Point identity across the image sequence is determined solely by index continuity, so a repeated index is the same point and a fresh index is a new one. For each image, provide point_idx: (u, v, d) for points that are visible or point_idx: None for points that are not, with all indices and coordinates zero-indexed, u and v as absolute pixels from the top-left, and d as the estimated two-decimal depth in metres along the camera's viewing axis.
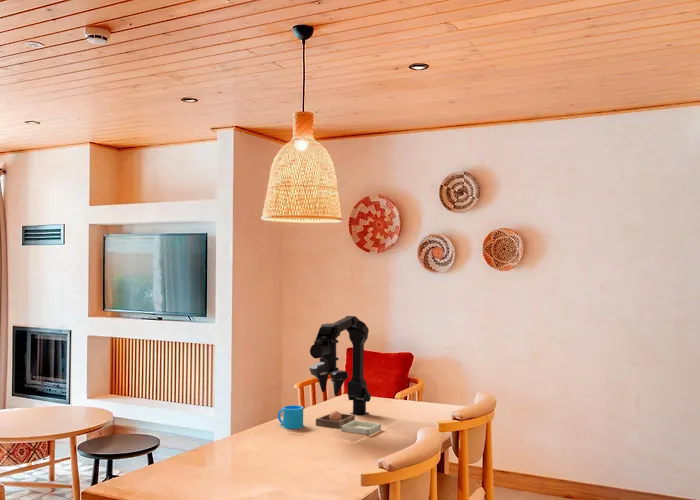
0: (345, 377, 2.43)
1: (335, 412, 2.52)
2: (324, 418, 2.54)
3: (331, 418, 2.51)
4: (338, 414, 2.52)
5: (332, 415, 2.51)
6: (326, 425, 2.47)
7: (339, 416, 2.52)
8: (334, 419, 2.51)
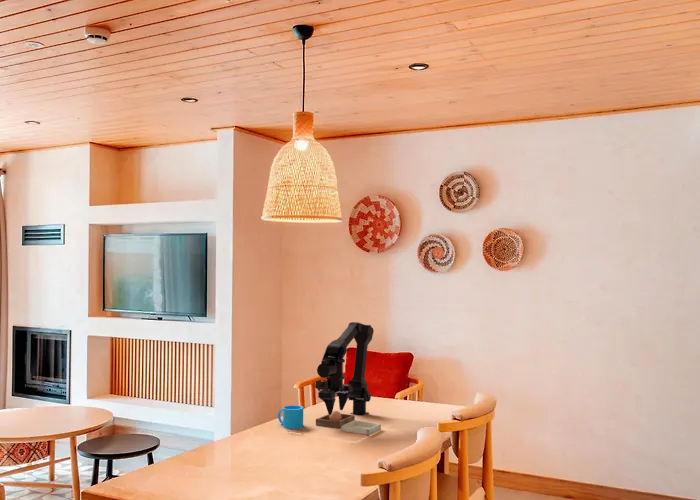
0: (327, 397, 2.45)
1: (335, 412, 2.52)
2: (324, 418, 2.54)
3: (331, 418, 2.51)
4: (338, 414, 2.52)
5: (332, 415, 2.51)
6: (326, 425, 2.47)
7: (339, 416, 2.52)
8: (334, 419, 2.51)
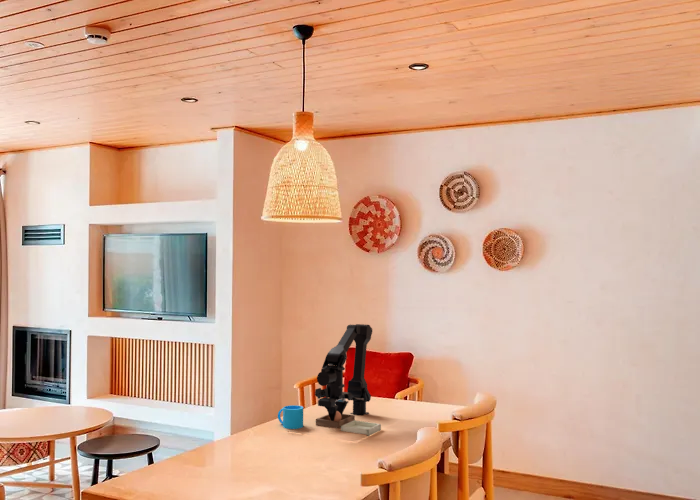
0: (326, 405, 2.45)
1: None
2: (324, 418, 2.54)
3: None
4: (338, 414, 2.52)
5: None
6: (326, 425, 2.47)
7: (339, 416, 2.52)
8: (334, 419, 2.51)
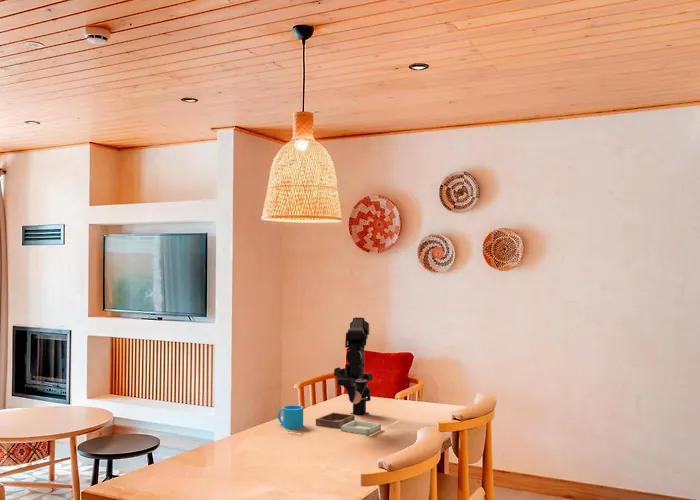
0: (346, 384, 2.37)
1: None
2: (324, 418, 2.54)
3: None
4: (357, 394, 2.43)
5: None
6: (326, 425, 2.47)
7: (359, 396, 2.43)
8: None
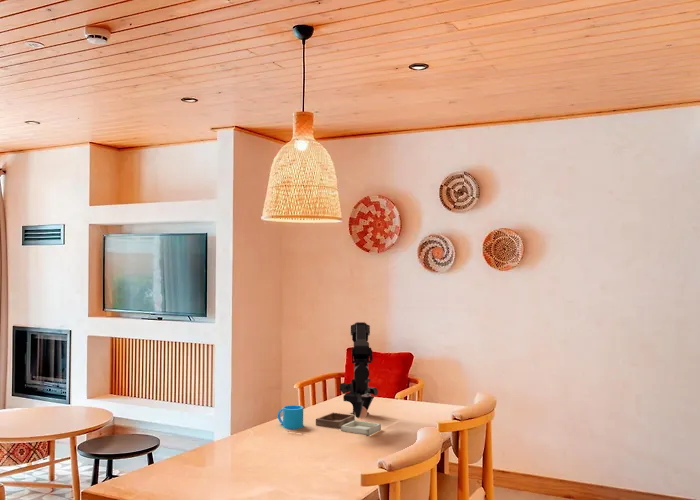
0: (352, 400, 2.35)
1: None
2: (324, 418, 2.54)
3: None
4: (363, 409, 2.42)
5: None
6: (326, 425, 2.47)
7: (365, 412, 2.42)
8: (360, 415, 2.41)
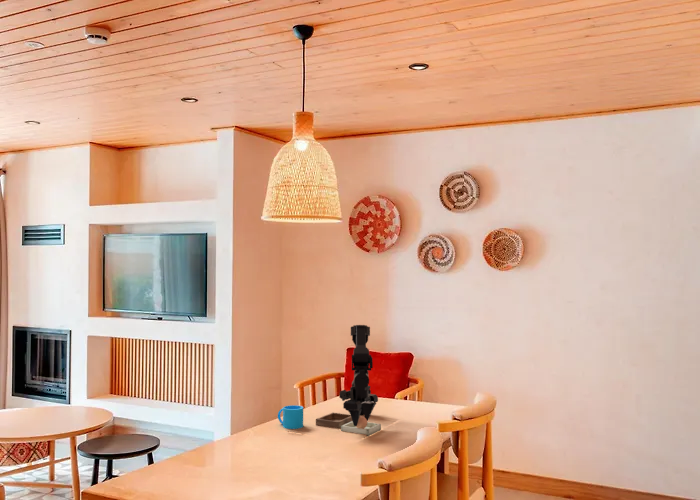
0: (352, 408, 2.34)
1: (361, 418, 2.42)
2: (324, 418, 2.54)
3: None
4: (363, 420, 2.41)
5: None
6: (326, 425, 2.47)
7: (365, 422, 2.41)
8: (360, 425, 2.41)
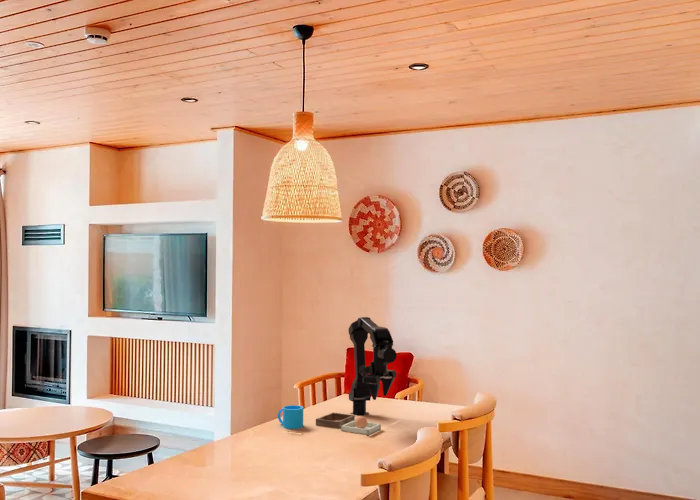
0: (372, 382, 2.42)
1: (361, 417, 2.42)
2: (324, 418, 2.54)
3: (356, 424, 2.41)
4: (363, 419, 2.41)
5: (358, 420, 2.41)
6: (326, 425, 2.47)
7: (365, 422, 2.41)
8: (360, 425, 2.41)
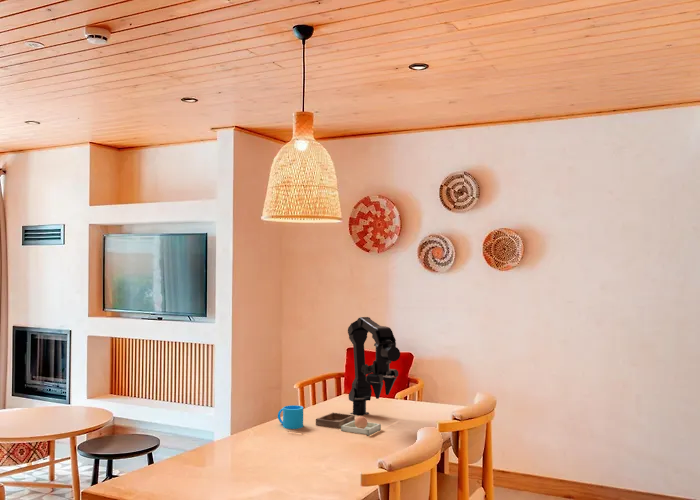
0: (375, 381, 2.42)
1: (361, 417, 2.42)
2: (324, 418, 2.54)
3: (357, 423, 2.41)
4: (363, 419, 2.42)
5: (358, 420, 2.41)
6: (326, 425, 2.47)
7: (365, 422, 2.42)
8: (360, 425, 2.41)
